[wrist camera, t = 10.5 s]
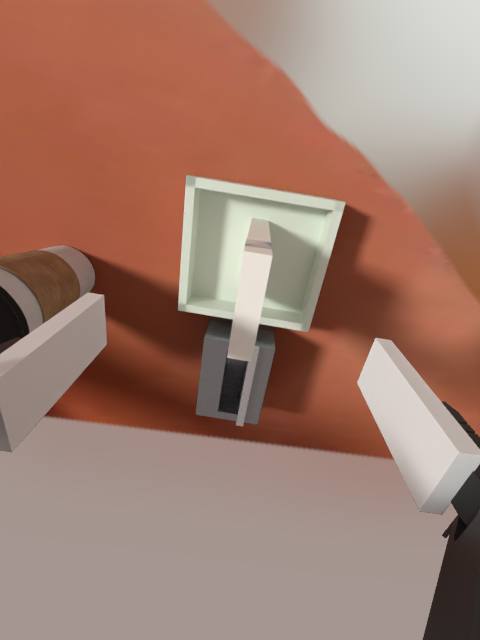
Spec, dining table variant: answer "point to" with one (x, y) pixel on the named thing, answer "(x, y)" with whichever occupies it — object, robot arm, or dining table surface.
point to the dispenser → (233, 375)
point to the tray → (229, 241)
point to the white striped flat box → (251, 290)
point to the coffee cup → (40, 287)
